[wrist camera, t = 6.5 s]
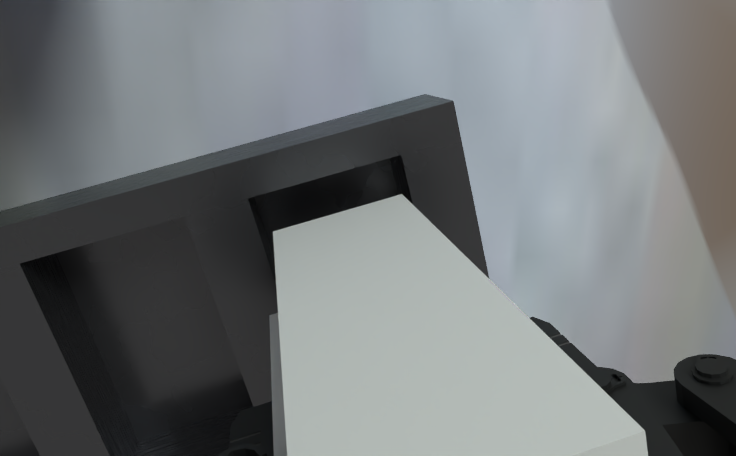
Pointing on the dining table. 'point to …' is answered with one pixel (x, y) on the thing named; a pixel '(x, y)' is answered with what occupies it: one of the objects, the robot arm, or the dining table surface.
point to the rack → (192, 279)
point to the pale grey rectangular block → (422, 351)
